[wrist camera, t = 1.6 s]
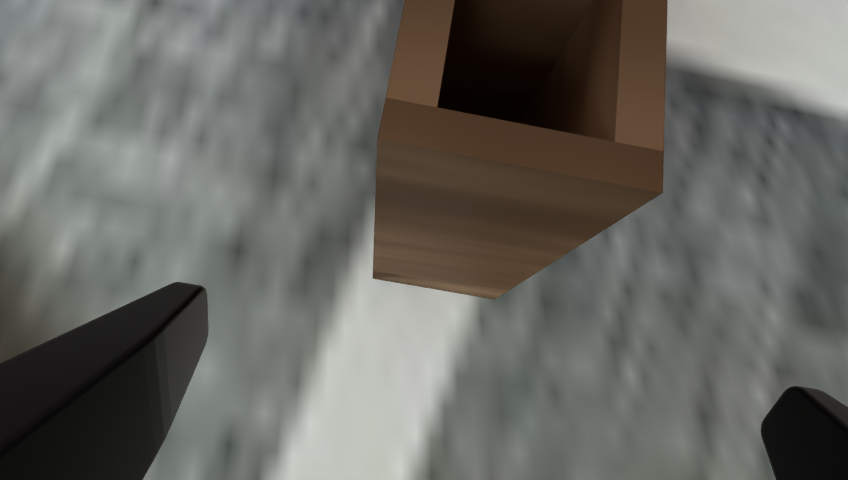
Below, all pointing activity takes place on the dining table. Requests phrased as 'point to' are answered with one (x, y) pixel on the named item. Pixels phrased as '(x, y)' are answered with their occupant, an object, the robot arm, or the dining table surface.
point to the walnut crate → (514, 136)
